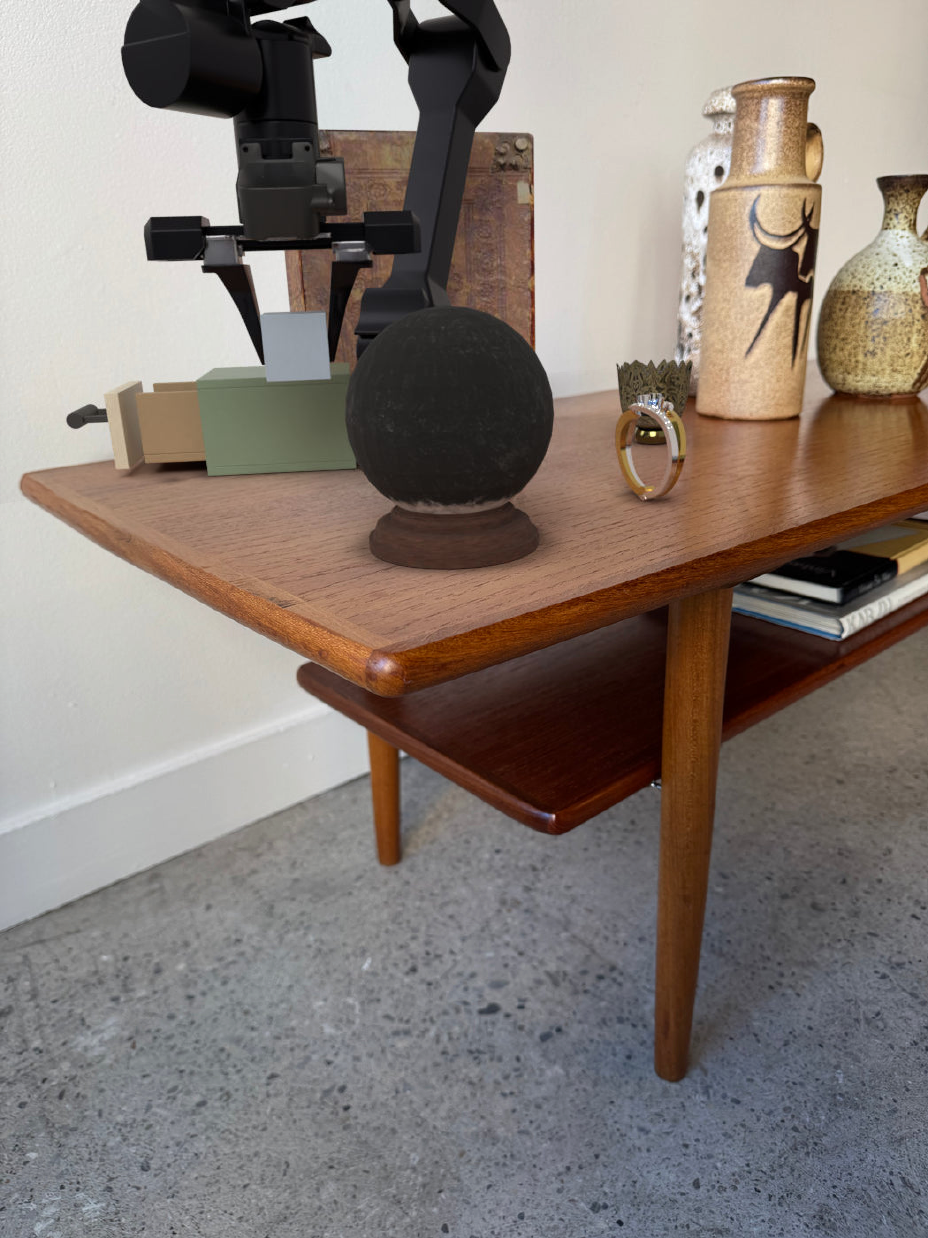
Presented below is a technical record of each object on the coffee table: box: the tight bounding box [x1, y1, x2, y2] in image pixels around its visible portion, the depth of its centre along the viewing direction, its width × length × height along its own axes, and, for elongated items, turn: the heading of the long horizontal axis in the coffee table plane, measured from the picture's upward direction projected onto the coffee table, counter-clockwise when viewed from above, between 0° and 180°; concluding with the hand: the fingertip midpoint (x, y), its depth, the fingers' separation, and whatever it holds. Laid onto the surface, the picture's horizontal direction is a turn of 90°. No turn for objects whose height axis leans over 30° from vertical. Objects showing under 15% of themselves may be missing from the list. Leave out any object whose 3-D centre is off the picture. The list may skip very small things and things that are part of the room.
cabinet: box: [195, 363, 358, 477], centre depth 89 cm, size 14×12×9 cm
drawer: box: [65, 380, 206, 471], centre depth 88 cm, size 17×10×7 cm, turn 97°
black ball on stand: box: [345, 306, 555, 570], centre depth 59 cm, size 13×13×15 cm
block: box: [260, 310, 331, 382], centre depth 68 cm, size 5×5×5 cm
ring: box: [614, 393, 687, 501], centre depth 70 cm, size 7×3×8 cm, turn 23°
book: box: [284, 128, 536, 375], centre depth 100 cm, size 25×9×30 cm, turn 110°
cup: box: [615, 358, 694, 445], centre depth 93 cm, size 8×7×8 cm
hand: (298, 363), depth 68 cm, fingers closed on block, 4 cm apart
